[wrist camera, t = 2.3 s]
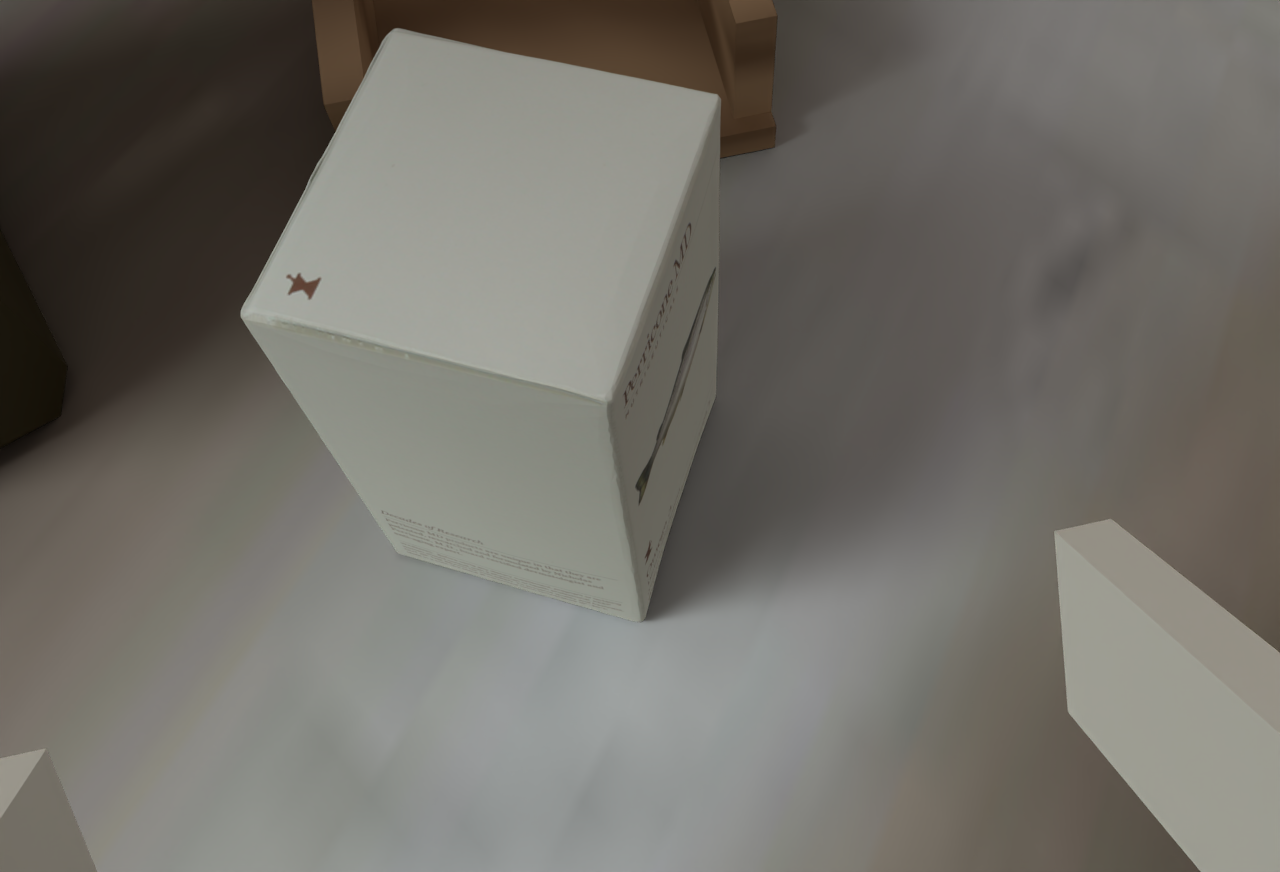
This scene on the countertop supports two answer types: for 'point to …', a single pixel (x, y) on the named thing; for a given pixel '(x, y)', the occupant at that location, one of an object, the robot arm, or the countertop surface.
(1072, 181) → the countertop surface
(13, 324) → the bottle
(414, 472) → the supplement box
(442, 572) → the countertop surface
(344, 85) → the u rest
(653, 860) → the countertop surface
